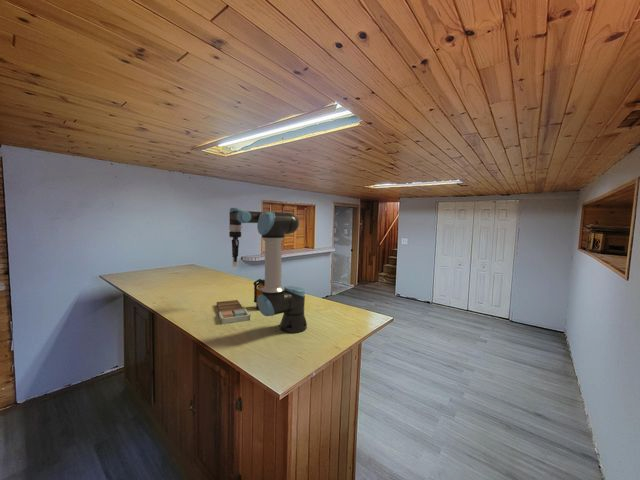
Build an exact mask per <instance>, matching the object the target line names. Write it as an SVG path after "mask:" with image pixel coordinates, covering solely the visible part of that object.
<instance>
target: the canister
mask: <svg viewBox="0 0 640 480" xmlns="http://www.w3.org/2000/svg"><path fill="white" fill-rule="evenodd" d="M253 286H254V287H253V293H254V294H253V295H254V296H253V303H255V305H256V306H255V309H258V310H259V308H258V304H257V298H258V296H259V295H260V294H262V289H263V288H264V287H265V279H261V278H259V279H257V280H255V281H254V282H253Z"/></svg>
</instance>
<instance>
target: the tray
mask: <svg viewBox="0 0 640 480" xmlns="http://www.w3.org/2000/svg"><path fill="white" fill-rule="evenodd" d="M243 309H244V311H245V316H237V317H235V316H234V314H233V317H230V318H223V316H222V313H221V312H219V311H218V318H219V321H220V323H221V325H226V324H233V323H239V322H240V323H241V322H246V321H251V314H250V313H249V311H248V310H247V308H243Z"/></svg>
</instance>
